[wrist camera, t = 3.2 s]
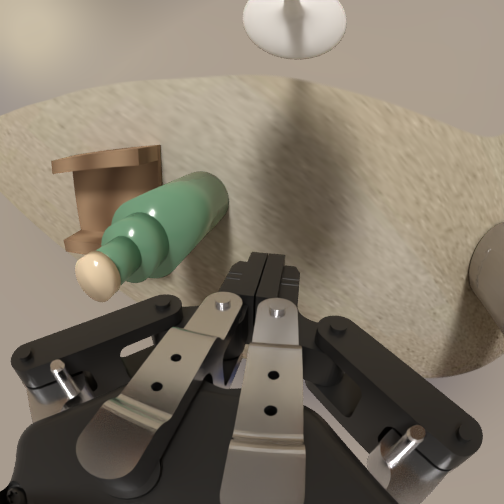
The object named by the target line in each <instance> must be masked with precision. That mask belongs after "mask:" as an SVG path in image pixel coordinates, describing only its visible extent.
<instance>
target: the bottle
mask: <svg viewBox="0 0 504 504" xmlns="http://www.w3.org/2000/svg"><path fill="white" fill-rule="evenodd" d="M228 204H229V198H228V193H227V190H226V188H225V186H224V184H223V183H222V182H221V181H220V180H219V179H218V178H217V177H216V176H214V175H212V174H210V173H207V172H193V173H191V174H188V175H186V176H183V177H181V178H178V179H176V180H174V181H171V182H169V183H167V184H164V185H162V186H160V187H157V188H155V189H153V190H151V191H148V192H146V193H144V194H142V195H140V196H137V197H135V198H133V199H131V200H129V201H127V202H125V203H123V204H122V205H121V206H120V207H119V208H118V209H117V210H116V212H115V214H114V216H113V219H112V223H111V226H109V227H108V228H107V229H106V230H105V232H104V234H103V236H102V242H101V247H100V248H99V249H97V250H96V251H91V252H89V253H88V254H86V255H85V256H84V257H82V258H81V259H79V260H78V261H77V263H76V266H75V272H76V277H77V280H78V283H79V284H80V286H81V288H82V289H83V291H85V293H86V294H87V295H88V296H89V297H90V298H92V299H93V300H95V301H98V302H106V301H108V300H109V299H110V298H111V297H112V296H113V295H114V294H115V293H116V292H117V291H118V290H119V288H120V286H121V285H122V284H123V283H124V282H125V281H127V282H131V283H139V282H142V281H144V280H146V279H147V278H161V277H164V276H167V275H168V274H170V273H171V272H172V271H173V270H174V269H175V268H176V267H177V266H178V265H179V264H180V263H181V262H182V261H183V259H184V258H185V257H186V256H187V255H188V254H189V253H190V252H191V251H192V250H193V249H194V248H195V247H196V245H197V244H198V243H199V242H200V241H201V240H202V239H203V238H204V237H205V236H206V235H207V234H208V233H209V232H210V231H211V230H212V229H213V227H214V226H215V225H216V224H217V223H218V222H219V221H220V220H221V219H222V218H223V217H224V215H225V214H226V212H227V209H228Z"/></svg>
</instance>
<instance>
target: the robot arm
mask: <svg viewBox="0 0 504 504" xmlns="http://www.w3.org/2000/svg"><path fill="white" fill-rule="evenodd" d="M299 279H300V272H299V271H298V269H297V268H296V267H294V266H285V255H280V254H269V255H268V253H258V252H252V253H251V255H250V257H249V260H248V262H243V261H239V262H237V263H236V264H234V265H233V266H232V267H231V269H230V271H229V273H228V275H227V277H226V278H225V280H224V282H223V284H222V286H221V288H220V290H219V292H217V293H213V294H211V295H209V296H207V297H206V298H205V299H204V301H203V302H202V304H201V305H200V306H192V307H182V303H181V300H180V299H179V298H178V297H176V296H173V295H158V296H155V297H152V298H149V299H147V300H144V301H141V302H139V303H136V304H133V305H131V306H128V307H125V308H122V309H120V310H117V311H114V312H112V313H109V314H106V315H103V316H101V317H98V318H95V319H93V320H90V321H87V322H84V323H81V324H79V325H76V326H73V327H71V328H68V329H65V330H62V331H59V332H57V333H54V334H51V335H48V336H45V337H43V338H40V339H37V340H34V341H31V342H29V343H26V344H24V345H21V346H20V347H18V348H17V349H16V350H15V351H14V353H13V355H12V357H11V365H12V367H13V368H14V370H15V371H16V373H17V374H18V376H19V377H20V379H21V380H22V383H23V384H24V386H25V387H26V389H27V395H28V400H29V407H30V412H31V417H32V422H33V424H31V425H30V426H29V427H28V428H26V430H25V431H24V432H23V434H22V435H21V437H20V439H19V442H18V445H17V453H16V462H15V467H14V472H13V475H12V479H11V481H10V483H9V485H8V486H7V487H6V488H5V489H4V490H2V491H0V504H420V503H421V502H422V501H423V500H424V499H425V498H426V497H427V496H428V495H429V494H430V493H431V492H432V491H433V490H434V489H435V487H436V486H437V485H438V484H439V483H440V482H441V481H442V479H443V478H444V477H445V476H446V475H447V474H448V473H450V472H451V471H453V470H454V469H455V468H456V467H458V466H459V465H460V464H462V463H463V462H464V461H466V460H467V459H468V458H469V457H470V456H472V455H473V454H474V453H475V452H476V451H477V450H478V449H479V448H480V446H481V444H482V439H483V435H482V429H481V427H480V425H479V424H478V422H477V421H476V420H475V419H474V418H472V417H471V416H470V415H469V414H467V413H466V412H465V411H464V410H463V409H461V408H460V407H459V406H458V405H456V404H455V403H454V402H453V401H451V400H450V399H449V398H448V397H447V396H445V395H444V394H443V393H442V392H440V391H439V390H438V389H437V388H435V387H434V386H433V385H432V384H430V383H429V382H428V381H426V380H425V379H424V378H423V377H422V376H420V375H419V374H418V373H417V372H415V371H414V370H413V369H412V368H410V367H409V366H408V365H407V364H405V363H404V362H403V361H402V360H400V359H399V358H398V357H397V356H395V355H394V354H393V353H392V352H390V351H389V350H388V349H387V348H385V347H384V346H383V345H382V344H380V343H379V342H378V341H376V340H375V339H374V338H373V337H371V336H370V335H369V334H368V333H366V332H365V331H364V330H363V329H361V328H360V327H359V326H358V325H356V324H355V323H354V322H352V321H351V320H349V319H347V318H345V317H341V316H328V317H325V318H323V319H321V320H320V321H319V322H318V323H317V322H314V321H311V320H309V319H307V318H305V317H303V316H302V315H301V314H300V313H299V311H298V308H297V304H298V292H299ZM469 281H470V285H471V288H472V290H473V292H474V293H475V294H476V296H477V297H478V298H479V300H480V301H481V302H482V304H483V305H484V307H485V308H486V309H487V311H488V312H489V314H490V315H491V317H492V318H493V320H494V321H495V323H496V324H497V326H498V327H499V329H500V330H501V332H502V333H503V335H504V222H503V223H500V224H498V225H496V226H494V227H493V228H491V229H490V230H489V231H488V232H487V233H486V234H485V235H484V236H483V238H482V239H481V241H480V242H479V244H478V245H477V247H476V249H475V251H474V254H473V257H472V259H471V264H470V269H469ZM150 336H152V340H153V344H154V345H153V346H150V347H148V348H146V349H143V350H141V351H139V352H136V353H134V354H132V355H129V356H126V357H120V353H121V350H122V349H123V348H124V347H126V346H128V345H131V344H133V343H135V342H138V341H140V340H142V339H145V338H147V337H150ZM245 344H249V349H248V355H247V360H246V366H245V372H244V378H243V383H242V388H241V389H230V386H231V384H232V381H233V379H234V377H235V375H236V372H237V370H238V367H239V365H240V363H241V360H242V357H243V350H244V347H245ZM303 379H304V380H305V383H306V386H307V387H308V389H309V390H310V391H311V392H312V393H313V394H314V396H315V397H316V398H317V399H318V400H319V401H320V402H321V403H322V404H323V406H325V408H326V409H327V410H328V411H329V412H330V413H331V414H332V415H333V416H334V417H335V418H336V420H337V421H338V422H339V423H340V424H341V425H342V426H343V427H344V428H345V429H346V430H347V431H348V432H349V433H350V435H351V436H352V437H353V438H354V439H355V440H356V441H357V442H358V443H359V444H360V445H361V446H362V447H363V448H364V449H365V450H366V451H367V452H368V453H369V456H368V459H367V467H368V470H369V471H368V470H367V468H366V467H365V466H364V465H363V464H362V463H361V462H360V460H359V459H358V458H357V457H356V456H355V455H354V454H353V452H352V451H351V450H350V449H349V448H348V447H347V446H346V444H345V443H344V442H343V441H342V440H341V439H340V437H339V436H338V435H337V434H336V433H335V431H333V429H332V428H331V427H330V426H329V425H328V423H327V422H326V421H325V420H324V419H323V418H322V417H321V416H320V415H319V414H317V413H316V412H315V411H313V410H312V409H310V408H308V407H306V406H304V405H303Z"/></svg>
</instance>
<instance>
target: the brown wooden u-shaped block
mask: <svg viewBox="0 0 504 504" xmlns="http://www.w3.org/2000/svg"><path fill="white" fill-rule="evenodd" d="M51 163H52V173H53V174H55V173H63V172H70V171H73V179H74V188H75V195H76V202H77V209H78V215H79V221H80V226H81V230H80V231H78V232H77V233H75V234H73V235H72V236H70V237H68V238H66V239H65V240H64V244H65V248H66V252H73V253H79V254H85V255H86V254H88V253H89V252H91V251H96V250H97V249H99V248H100V247H101V242H102V236H103V234H104V232H105V230H106V229H107V228H108V227H109V226H111V223H112V219H113V216H114V214H115V212H116V210H117V209H118V208H119V207H120V206H121V205H122V204H123V203H125V202H127V201H129V200H131V199H133V198H135V197H137V196H140V195H142V194H144V193H146V192H148V191H151V190H153V189H155V188H157V187H160V186H162V171H161V147H160V145H153V146H141V147H131V148H122V149H113V150H106V151H98V152H92V153H85V154H79V155H74V156H69V157H65V158H61V159H58V160H54V161H51Z"/></svg>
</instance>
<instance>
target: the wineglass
mask: <svg viewBox="0 0 504 504" xmlns="http://www.w3.org/2000/svg"><path fill="white" fill-rule="evenodd" d="M243 25H244V29H245V31H246V33H247V35H248V37H249V38H250V39H251V41H252V42H253V43H254V44H255V45H257V46H258V47H259V48H261V49H262V50H264V51H265V52H267V53H269V54H272V55H275V56H278V57H281V58H286V59H308V58H313V57H317V56H320V55H322V54H325V53H326V52H328V51H330V50H331V49H333V48H334V47H335V46H336V45H337V44H338V43H339V42H340V41H341V39H342V37H343V36H344V34H345V30H346V25H347V20H346V15H345V11H344V9H343V7H342V5H341V4H340V3H339V1H338V0H249V1H248V2H247V4H246V6H245V9H244V12H243Z"/></svg>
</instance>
